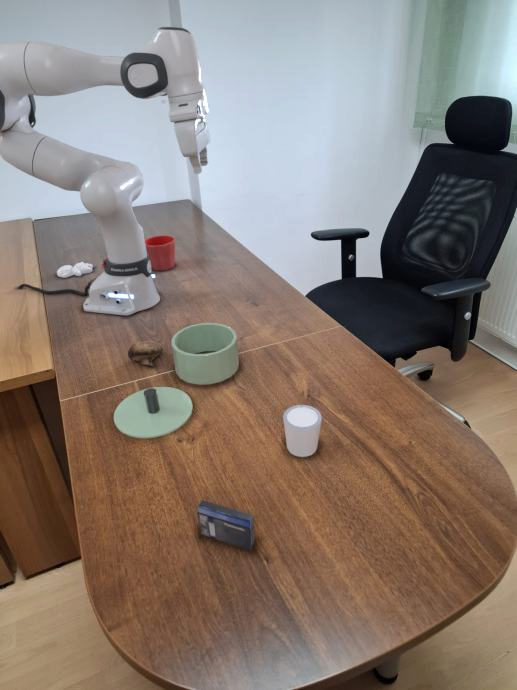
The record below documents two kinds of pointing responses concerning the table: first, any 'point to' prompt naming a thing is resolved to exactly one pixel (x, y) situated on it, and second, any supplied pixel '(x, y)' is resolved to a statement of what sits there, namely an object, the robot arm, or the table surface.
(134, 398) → the lid
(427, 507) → the table surface
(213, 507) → the mini dv tape
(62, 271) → the astronaut figurine
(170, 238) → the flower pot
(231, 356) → the pot
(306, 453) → the white cup
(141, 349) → the mushroom
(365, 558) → the table surface
